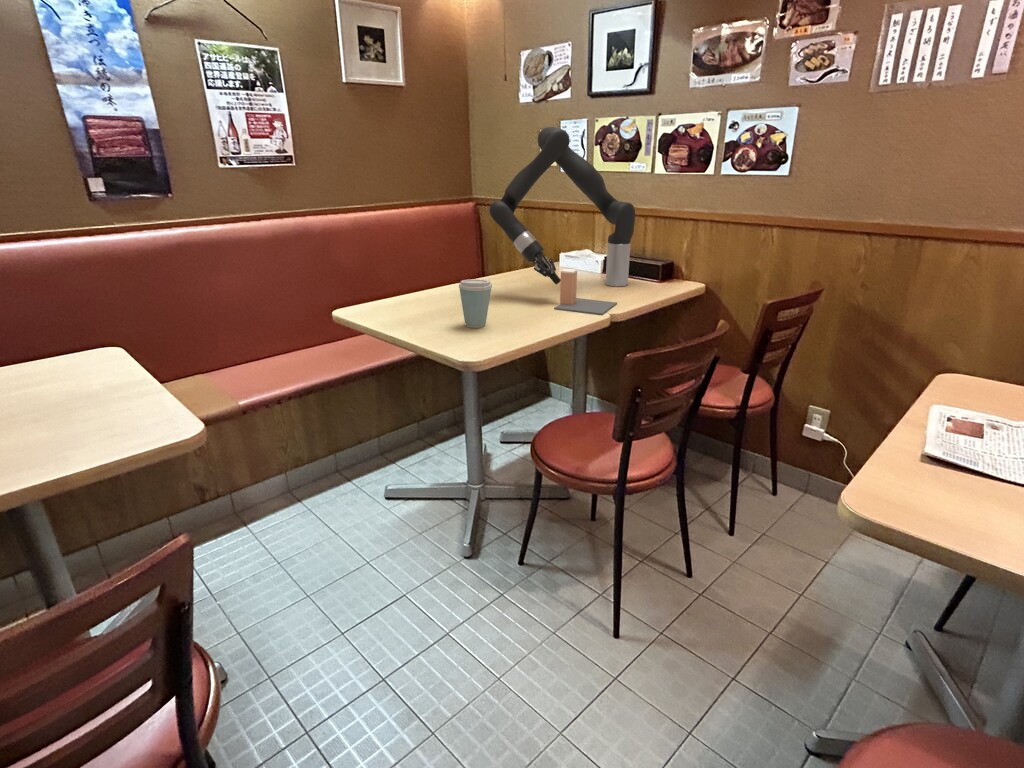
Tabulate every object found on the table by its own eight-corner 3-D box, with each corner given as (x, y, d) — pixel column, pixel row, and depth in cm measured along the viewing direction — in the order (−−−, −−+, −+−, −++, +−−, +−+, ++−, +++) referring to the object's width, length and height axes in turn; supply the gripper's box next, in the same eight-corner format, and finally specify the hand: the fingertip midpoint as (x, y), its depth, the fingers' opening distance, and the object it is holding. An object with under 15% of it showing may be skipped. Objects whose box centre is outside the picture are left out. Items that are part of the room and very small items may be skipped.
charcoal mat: (571, 298, 224) (571, 297, 224) (617, 304, 216) (617, 302, 216) (554, 309, 210) (554, 307, 210) (602, 315, 202) (602, 313, 202)
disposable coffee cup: (459, 321, 196) (458, 276, 190) (492, 320, 197) (491, 276, 191) (460, 330, 186) (458, 283, 181) (494, 329, 187) (493, 283, 182)
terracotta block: (564, 300, 219) (565, 268, 214) (575, 302, 217) (577, 269, 212) (559, 303, 215) (560, 270, 210) (571, 305, 213) (572, 272, 209)
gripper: (527, 242, 208) (558, 279, 207) (542, 237, 219) (572, 272, 218) (514, 256, 212) (544, 293, 212) (529, 250, 223) (558, 285, 222)
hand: (558, 282), depth 215 cm, fingers closed
